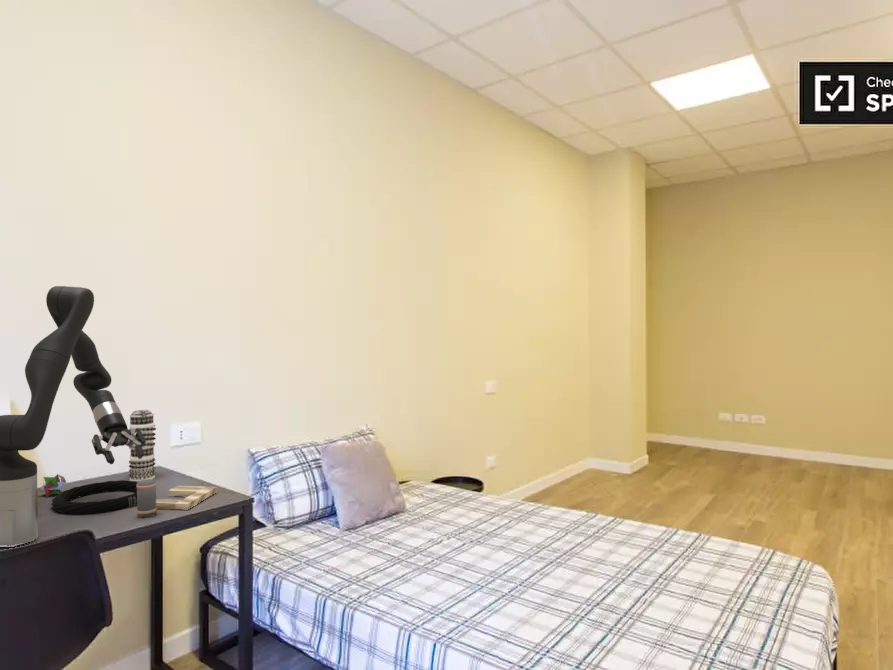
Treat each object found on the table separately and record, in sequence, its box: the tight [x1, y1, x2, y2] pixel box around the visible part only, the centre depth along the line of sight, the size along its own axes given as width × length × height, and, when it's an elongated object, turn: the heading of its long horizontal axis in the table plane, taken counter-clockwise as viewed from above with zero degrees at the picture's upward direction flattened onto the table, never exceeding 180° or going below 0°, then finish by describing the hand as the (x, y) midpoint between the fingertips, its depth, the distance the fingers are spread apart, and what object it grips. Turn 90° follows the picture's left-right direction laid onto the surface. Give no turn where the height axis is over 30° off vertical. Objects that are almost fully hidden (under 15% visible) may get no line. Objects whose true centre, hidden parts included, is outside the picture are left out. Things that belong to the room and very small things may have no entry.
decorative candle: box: [128, 409, 157, 481], centre depth 209 cm, size 9×9×25 cm
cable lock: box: [50, 479, 138, 515], centre depth 182 cm, size 28×4×30 cm
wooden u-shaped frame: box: [156, 485, 218, 511], centre depth 183 cm, size 18×14×2 cm
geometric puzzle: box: [37, 473, 67, 498], centre depth 188 cm, size 7×7×8 cm
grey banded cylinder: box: [136, 478, 157, 518], centre depth 169 cm, size 5×5×10 cm
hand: (127, 459), depth 176 cm, fingers open, 8 cm apart
